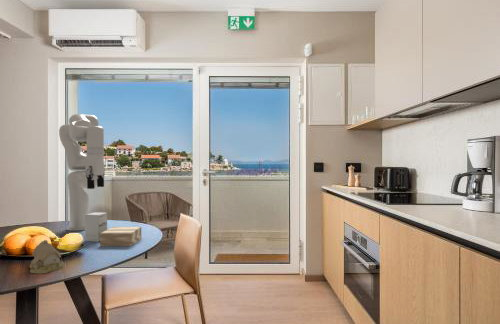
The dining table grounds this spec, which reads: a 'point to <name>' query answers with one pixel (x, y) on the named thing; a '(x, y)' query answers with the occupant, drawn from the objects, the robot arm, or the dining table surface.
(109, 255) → the dining table surface
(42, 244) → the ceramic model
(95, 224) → the supplement box
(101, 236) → the maple riser block
